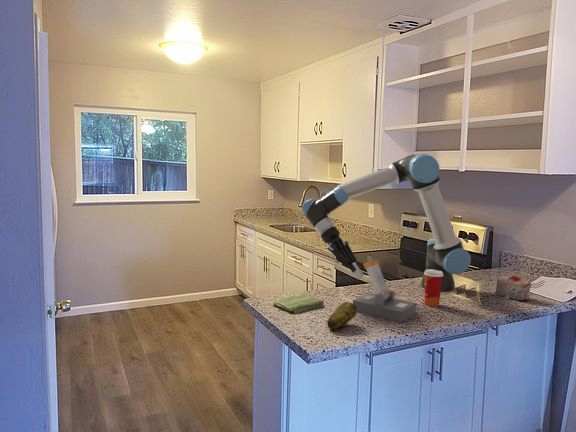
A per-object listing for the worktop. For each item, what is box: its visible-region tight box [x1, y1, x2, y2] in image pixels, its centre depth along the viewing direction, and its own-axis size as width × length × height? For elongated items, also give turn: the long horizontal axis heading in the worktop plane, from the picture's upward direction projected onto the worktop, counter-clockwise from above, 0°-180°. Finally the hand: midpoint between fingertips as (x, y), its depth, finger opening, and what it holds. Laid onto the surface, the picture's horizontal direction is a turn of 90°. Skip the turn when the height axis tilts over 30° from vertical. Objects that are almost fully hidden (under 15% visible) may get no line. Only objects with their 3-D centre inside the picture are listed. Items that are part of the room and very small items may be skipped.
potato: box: [326, 301, 357, 330], centre depth 160 cm, size 8×13×8 cm, turn 118°
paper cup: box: [423, 269, 444, 308], centre depth 187 cm, size 8×8×14 cm
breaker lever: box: [362, 258, 391, 302], centre depth 178 cm, size 3×6×16 cm, turn 142°
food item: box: [495, 275, 532, 302], centre depth 201 cm, size 14×8×10 cm, turn 37°
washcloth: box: [272, 292, 325, 314], centre depth 181 cm, size 13×18×3 cm
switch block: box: [352, 289, 418, 323], centre depth 177 cm, size 20×14×7 cm
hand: (361, 277), depth 182 cm, fingers closed
